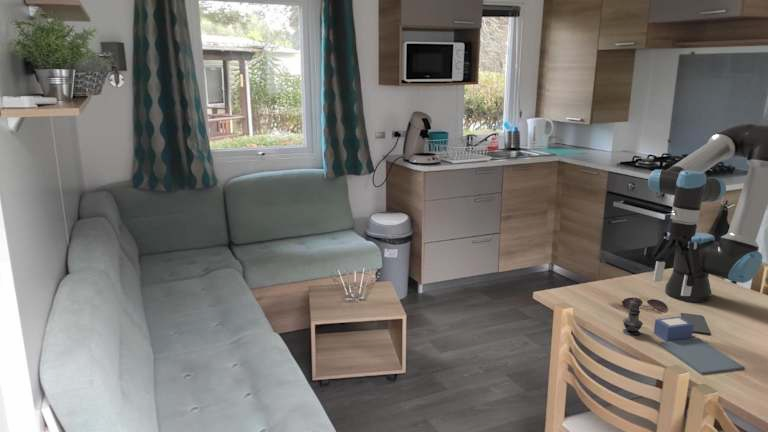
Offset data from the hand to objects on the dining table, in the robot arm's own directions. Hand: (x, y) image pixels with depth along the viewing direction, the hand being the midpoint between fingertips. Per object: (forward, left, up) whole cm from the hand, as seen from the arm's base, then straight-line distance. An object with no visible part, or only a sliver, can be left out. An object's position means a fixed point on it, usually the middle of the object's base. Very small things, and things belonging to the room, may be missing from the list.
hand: (670, 288), depth 182 cm
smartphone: (-14, -4, -16) cm, 21 cm away
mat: (0, +15, -15) cm, 22 cm away
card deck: (-1, +2, -15) cm, 16 cm away
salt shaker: (+10, -3, -15) cm, 19 cm away
